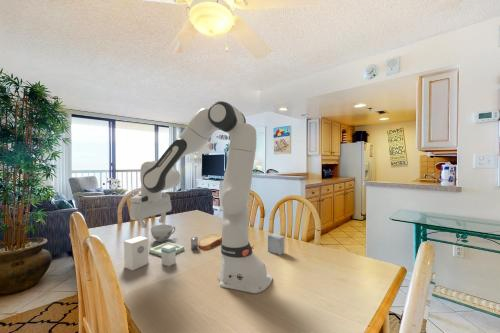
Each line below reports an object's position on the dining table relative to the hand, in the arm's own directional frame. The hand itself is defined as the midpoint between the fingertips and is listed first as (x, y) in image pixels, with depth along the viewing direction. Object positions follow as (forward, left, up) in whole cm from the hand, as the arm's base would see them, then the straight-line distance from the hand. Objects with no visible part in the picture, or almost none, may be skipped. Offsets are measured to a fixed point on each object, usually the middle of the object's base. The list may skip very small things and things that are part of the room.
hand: (153, 224), depth 110 cm
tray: (+5, -12, -18) cm, 23 cm away
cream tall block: (+4, +6, -18) cm, 19 cm away
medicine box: (-45, -41, -18) cm, 63 cm away
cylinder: (-5, -22, -18) cm, 29 cm away
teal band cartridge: (-7, -3, -18) cm, 20 cm away
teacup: (+21, -23, -18) cm, 37 cm away
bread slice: (-7, -34, -19) cm, 40 cm away
